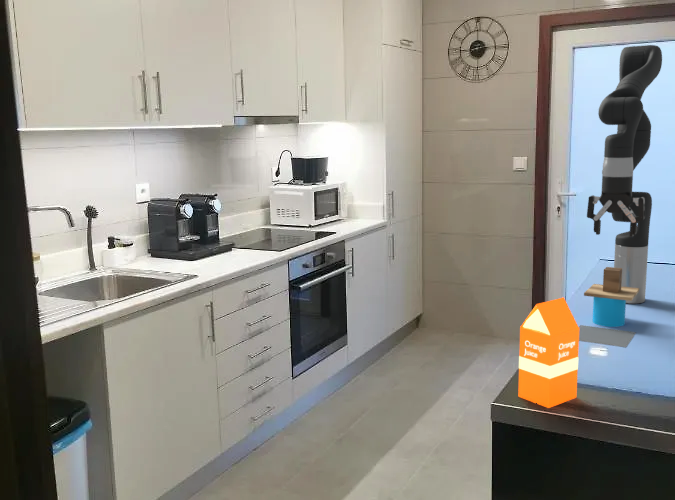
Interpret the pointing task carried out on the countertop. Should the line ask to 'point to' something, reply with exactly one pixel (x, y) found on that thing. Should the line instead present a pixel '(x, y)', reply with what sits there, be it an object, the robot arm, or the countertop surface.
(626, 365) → the countertop surface
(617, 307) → the mug
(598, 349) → the countertop surface
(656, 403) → the countertop surface
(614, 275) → the oak lid
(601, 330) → the rubber mat
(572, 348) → the orange juice
